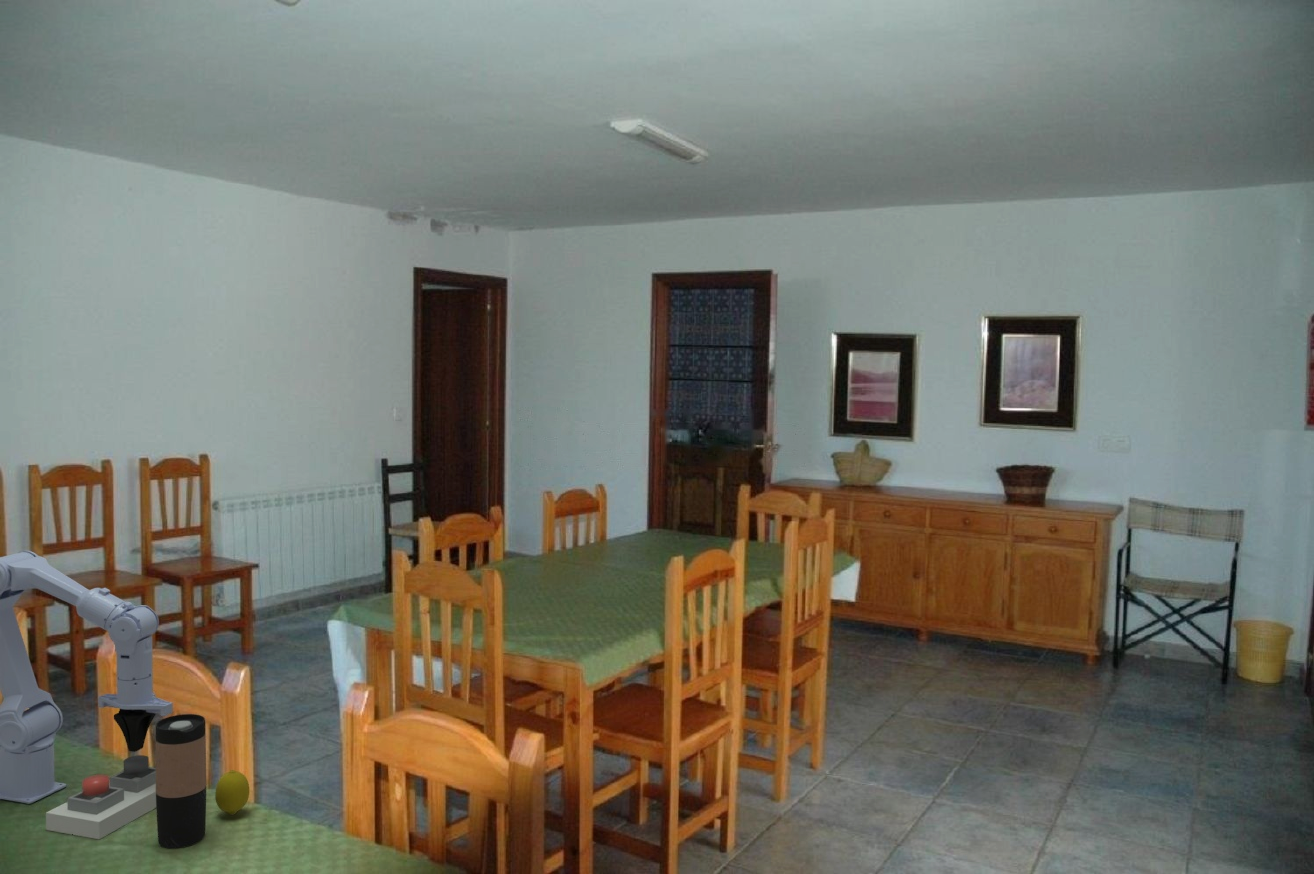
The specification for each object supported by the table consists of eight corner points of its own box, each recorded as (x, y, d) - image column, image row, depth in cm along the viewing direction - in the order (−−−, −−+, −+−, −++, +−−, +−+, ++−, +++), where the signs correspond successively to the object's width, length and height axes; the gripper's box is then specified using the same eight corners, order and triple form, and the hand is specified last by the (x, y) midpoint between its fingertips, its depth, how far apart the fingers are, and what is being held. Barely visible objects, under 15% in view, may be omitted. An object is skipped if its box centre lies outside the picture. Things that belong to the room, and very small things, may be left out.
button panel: (46, 829, 168) (45, 801, 167) (132, 784, 186) (132, 758, 186) (99, 839, 165) (98, 810, 165) (182, 792, 183) (181, 766, 183)
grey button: (118, 773, 178) (118, 762, 178) (135, 764, 182) (135, 754, 182) (136, 776, 177) (136, 765, 177) (153, 767, 181) (153, 756, 181)
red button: (76, 793, 169) (76, 782, 169) (95, 784, 173) (95, 773, 173) (96, 796, 168) (95, 785, 168) (114, 787, 172) (114, 776, 172)
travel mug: (171, 826, 170) (169, 712, 168) (215, 828, 170) (214, 714, 168) (146, 848, 162) (145, 729, 161) (193, 850, 162) (191, 730, 161)
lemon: (254, 807, 178) (253, 764, 177) (242, 821, 172) (242, 776, 172) (222, 807, 178) (222, 763, 177) (210, 821, 172) (209, 776, 172)
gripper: (184, 673, 180) (185, 746, 181) (119, 665, 184) (120, 736, 185) (155, 685, 173) (156, 760, 174) (88, 676, 177) (89, 750, 178)
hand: (135, 749), depth 179 cm, fingers closed
